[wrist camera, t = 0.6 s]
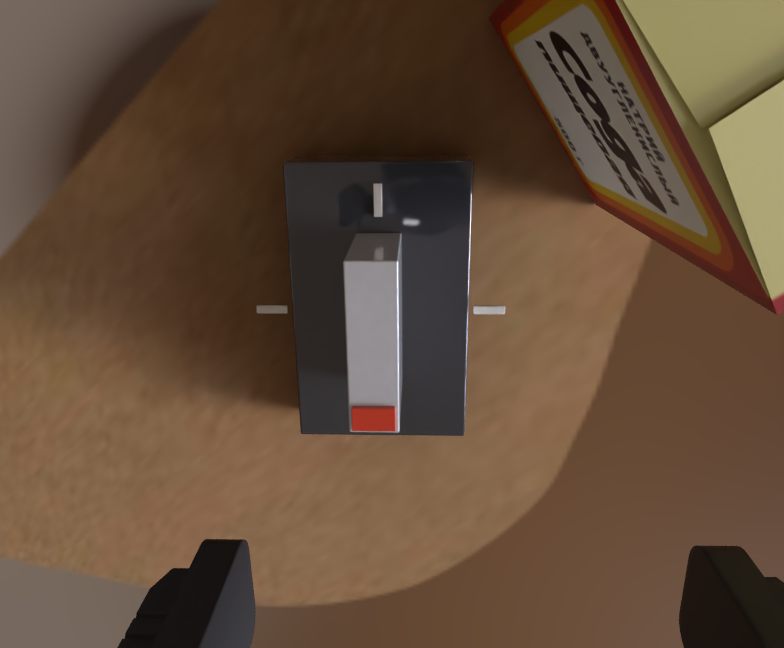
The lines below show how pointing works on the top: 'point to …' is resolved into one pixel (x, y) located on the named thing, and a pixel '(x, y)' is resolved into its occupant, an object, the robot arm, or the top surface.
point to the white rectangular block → (374, 331)
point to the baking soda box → (670, 120)
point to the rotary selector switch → (419, 281)
